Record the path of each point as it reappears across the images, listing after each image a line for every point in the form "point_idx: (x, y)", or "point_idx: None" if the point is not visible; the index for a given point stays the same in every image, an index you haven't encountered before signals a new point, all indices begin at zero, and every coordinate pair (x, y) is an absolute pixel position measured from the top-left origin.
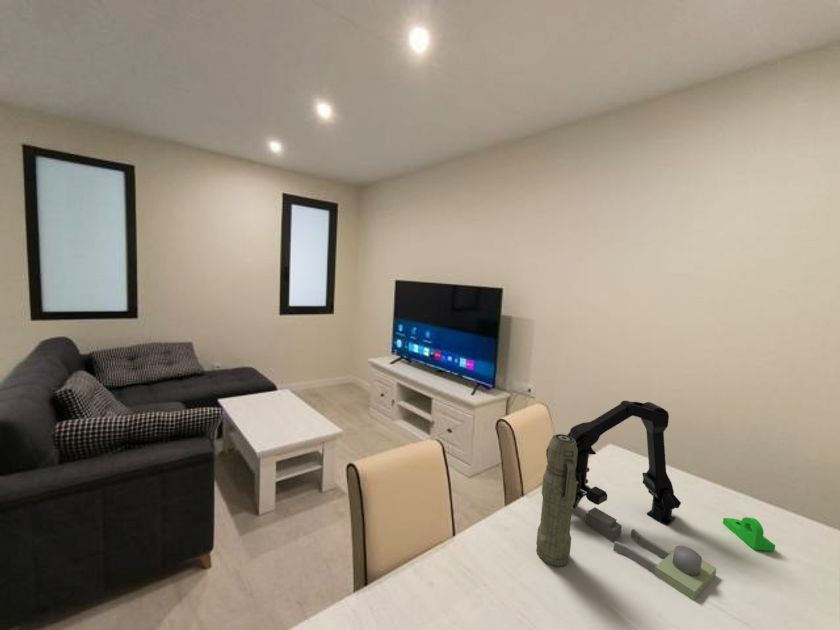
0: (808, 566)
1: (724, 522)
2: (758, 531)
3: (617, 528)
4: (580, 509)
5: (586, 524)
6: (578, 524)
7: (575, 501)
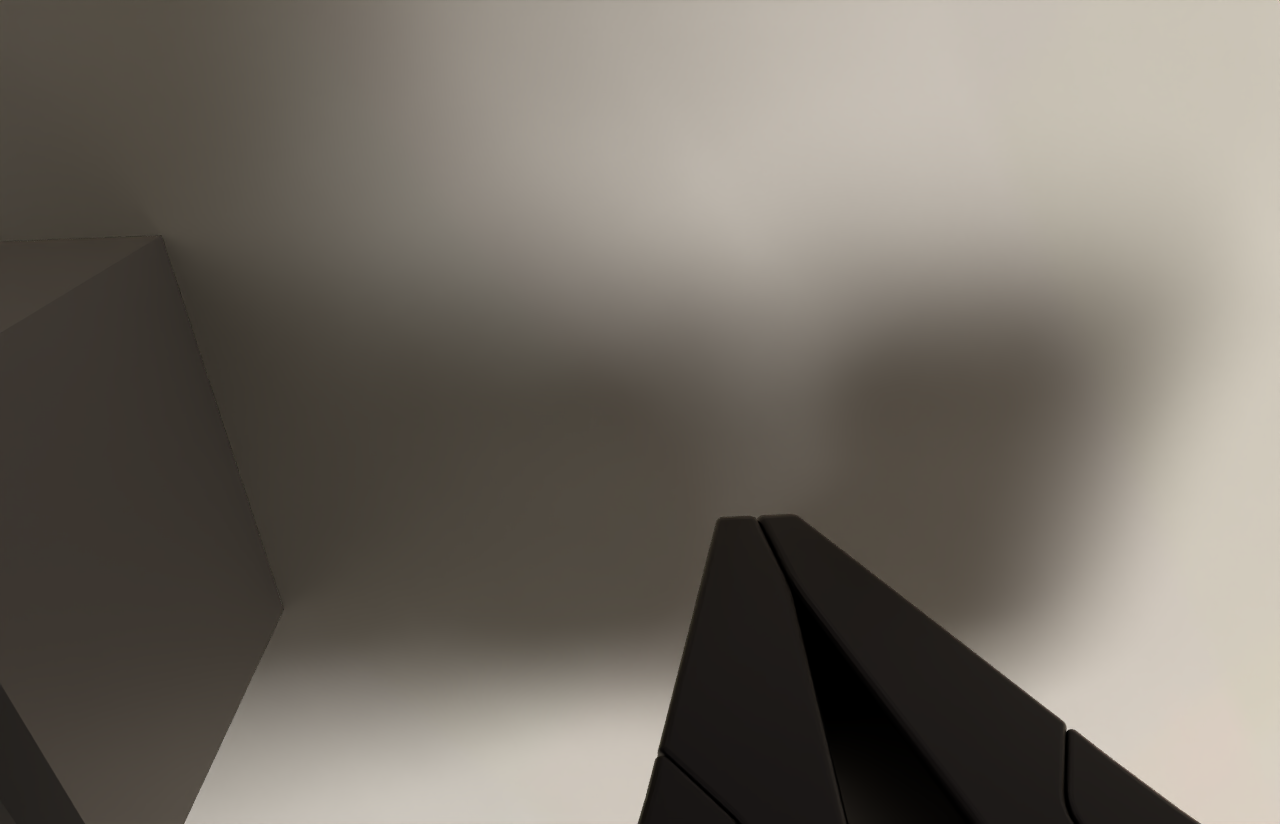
0: None
1: None
2: None
3: None
4: None
5: (53, 261)
6: (250, 87)
7: (706, 743)
